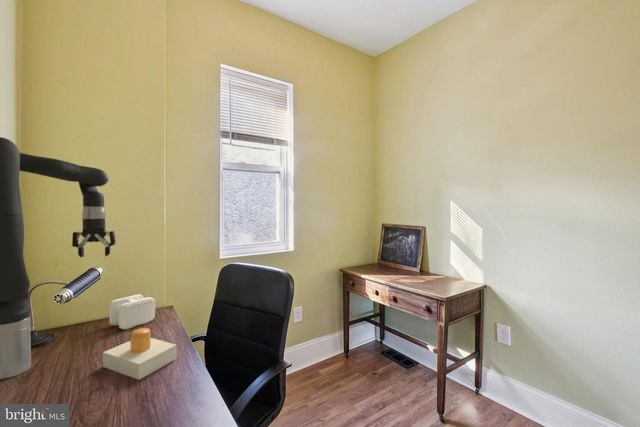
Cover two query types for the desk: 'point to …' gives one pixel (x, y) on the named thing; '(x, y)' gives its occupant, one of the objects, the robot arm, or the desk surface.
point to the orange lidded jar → (140, 340)
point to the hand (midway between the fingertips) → (94, 256)
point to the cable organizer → (131, 311)
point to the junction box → (139, 358)
